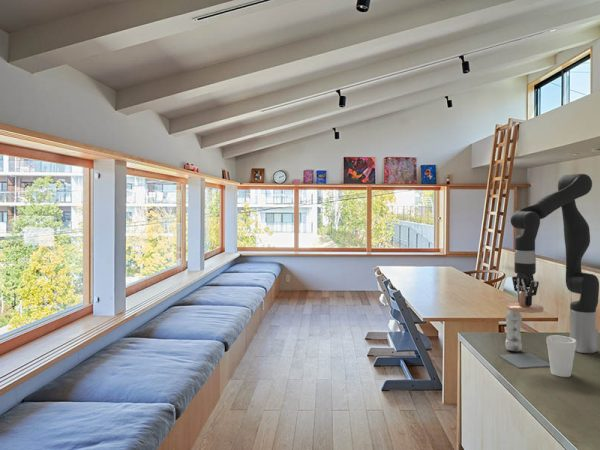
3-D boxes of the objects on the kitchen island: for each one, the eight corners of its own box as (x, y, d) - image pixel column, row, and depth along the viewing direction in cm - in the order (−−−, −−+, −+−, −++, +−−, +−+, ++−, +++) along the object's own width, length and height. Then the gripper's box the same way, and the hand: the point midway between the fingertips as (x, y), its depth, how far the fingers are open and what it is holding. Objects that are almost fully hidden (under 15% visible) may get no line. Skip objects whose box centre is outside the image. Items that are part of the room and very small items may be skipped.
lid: (529, 304, 180) (529, 287, 180) (551, 311, 167) (551, 293, 167) (500, 305, 178) (500, 288, 178) (519, 313, 165) (519, 295, 165)
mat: (529, 354, 181) (529, 353, 181) (552, 366, 167) (552, 365, 167) (498, 355, 180) (498, 354, 180) (518, 368, 166) (518, 367, 166)
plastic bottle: (518, 348, 189) (518, 302, 188) (524, 353, 182) (524, 306, 181) (502, 347, 190) (502, 302, 189) (508, 353, 183) (508, 306, 182)
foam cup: (578, 380, 154) (578, 344, 154) (549, 376, 157) (549, 341, 157) (572, 370, 163) (572, 336, 163) (544, 367, 166) (544, 334, 166)
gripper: (545, 263, 165) (545, 308, 166) (522, 259, 179) (522, 300, 180) (527, 264, 164) (527, 308, 165) (505, 259, 178) (505, 300, 179)
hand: (524, 304), depth 173 cm, fingers closed on lid, 4 cm apart
